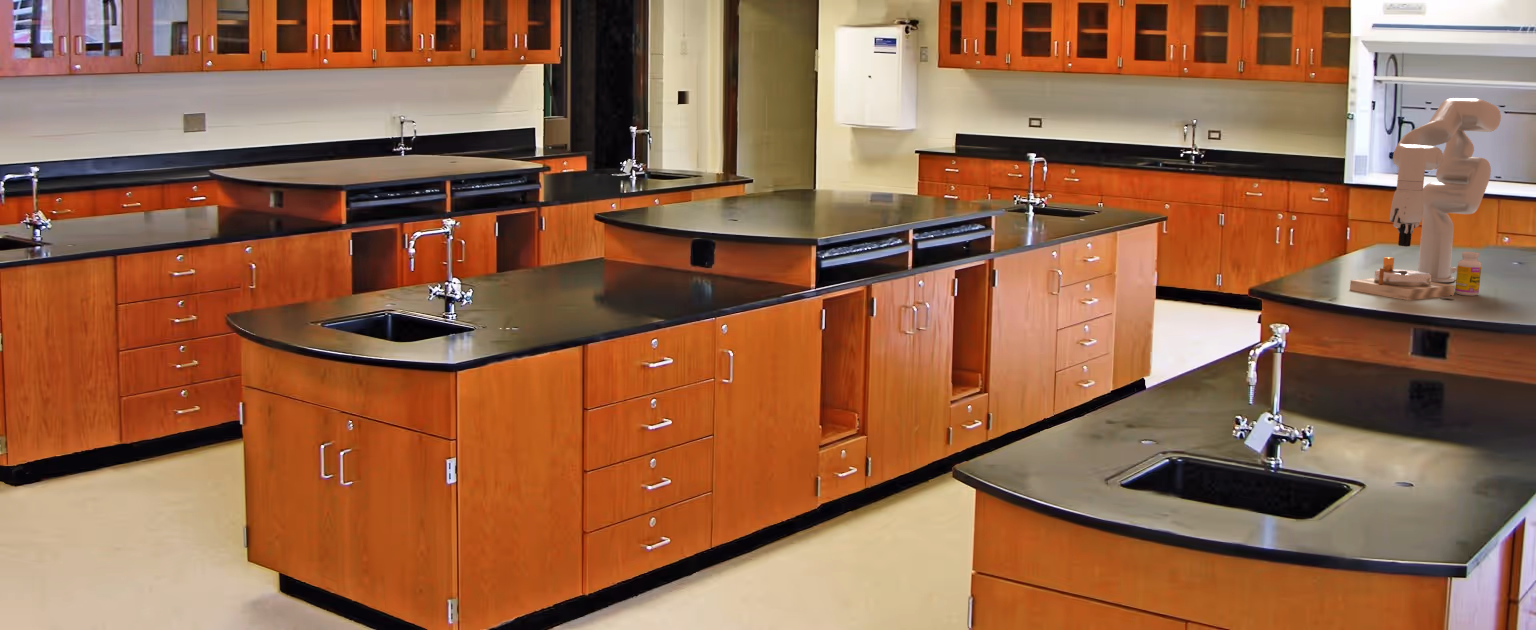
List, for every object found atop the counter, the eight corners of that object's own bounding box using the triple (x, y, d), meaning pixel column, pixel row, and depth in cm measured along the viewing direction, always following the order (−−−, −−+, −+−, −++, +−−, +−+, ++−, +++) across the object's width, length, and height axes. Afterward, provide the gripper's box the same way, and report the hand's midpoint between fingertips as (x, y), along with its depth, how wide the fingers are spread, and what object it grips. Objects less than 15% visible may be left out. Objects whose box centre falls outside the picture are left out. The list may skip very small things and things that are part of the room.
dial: (1441, 284, 472) (1444, 262, 471) (1407, 288, 464) (1409, 265, 463) (1397, 277, 486) (1399, 255, 484) (1362, 280, 478) (1364, 258, 477)
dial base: (1395, 285, 490) (1397, 260, 488) (1453, 295, 472) (1456, 269, 470) (1349, 289, 479) (1351, 264, 478) (1407, 300, 461) (1410, 273, 460)
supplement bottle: (1468, 296, 470) (1472, 254, 467) (1449, 293, 475) (1453, 251, 473) (1483, 295, 473) (1487, 253, 470) (1464, 292, 478) (1468, 250, 476)
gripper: (1415, 185, 485) (1409, 244, 488) (1383, 185, 477) (1377, 245, 480) (1436, 187, 478) (1430, 246, 481) (1404, 187, 471) (1398, 248, 474)
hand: (1404, 245), depth 481 cm, fingers closed
